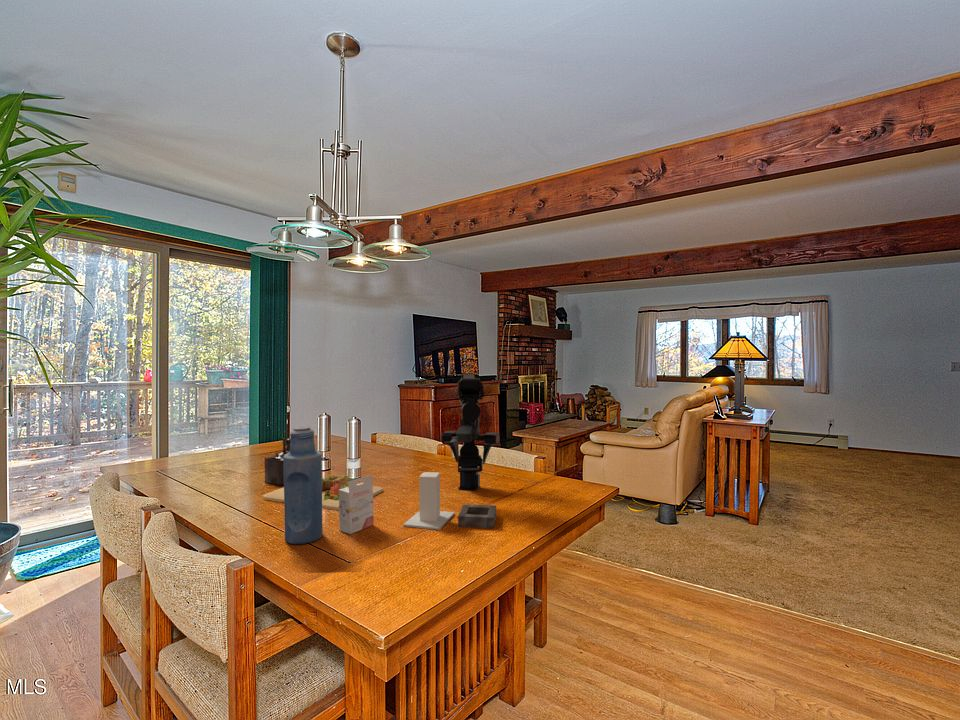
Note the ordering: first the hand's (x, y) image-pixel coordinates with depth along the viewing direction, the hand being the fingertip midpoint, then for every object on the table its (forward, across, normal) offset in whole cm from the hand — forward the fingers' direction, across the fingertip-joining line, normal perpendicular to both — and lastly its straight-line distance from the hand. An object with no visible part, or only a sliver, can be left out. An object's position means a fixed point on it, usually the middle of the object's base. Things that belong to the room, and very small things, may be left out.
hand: (470, 462), depth 154 cm
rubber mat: (+13, -7, -19) cm, 24 cm away
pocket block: (+13, +7, -16) cm, 22 cm away
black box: (+13, -75, +5) cm, 76 cm away
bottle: (+13, -35, -40) cm, 55 cm away
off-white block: (+12, -7, -19) cm, 24 cm away
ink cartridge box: (+13, -25, -30) cm, 41 cm away
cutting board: (+14, -52, -5) cm, 54 cm away
